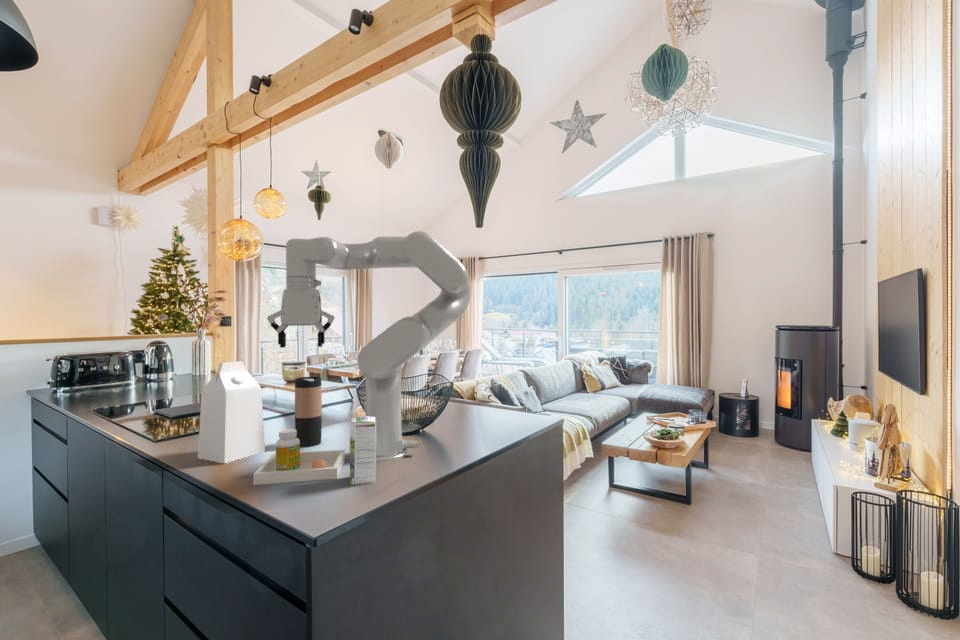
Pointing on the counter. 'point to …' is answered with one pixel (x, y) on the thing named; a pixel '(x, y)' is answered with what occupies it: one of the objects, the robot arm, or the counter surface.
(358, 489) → the counter surface
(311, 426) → the travel mug
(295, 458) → the supplement bottle
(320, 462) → the ball
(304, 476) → the tray
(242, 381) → the milk
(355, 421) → the syrup box
